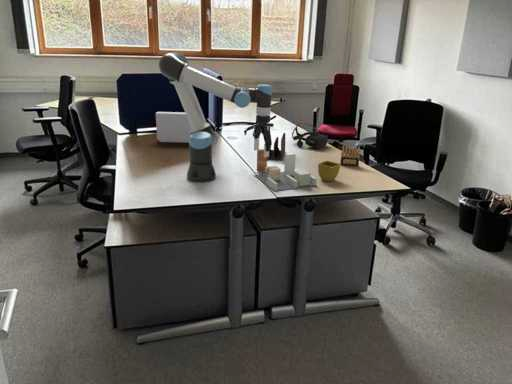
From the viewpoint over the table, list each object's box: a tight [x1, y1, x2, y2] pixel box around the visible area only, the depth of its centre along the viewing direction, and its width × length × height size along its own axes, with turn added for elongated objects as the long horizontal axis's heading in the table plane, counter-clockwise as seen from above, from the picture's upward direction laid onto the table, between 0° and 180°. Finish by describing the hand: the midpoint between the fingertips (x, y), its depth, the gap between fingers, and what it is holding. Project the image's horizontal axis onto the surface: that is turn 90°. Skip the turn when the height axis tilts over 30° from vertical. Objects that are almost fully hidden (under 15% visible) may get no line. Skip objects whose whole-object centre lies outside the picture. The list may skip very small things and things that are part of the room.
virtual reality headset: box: [291, 122, 329, 150], centre depth 290 cm, size 19×24×15 cm
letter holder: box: [267, 132, 286, 162], centre depth 264 cm, size 10×20×14 cm, turn 171°
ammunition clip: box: [339, 145, 361, 168], centre depth 248 cm, size 11×2×12 cm, turn 78°
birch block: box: [256, 148, 281, 181], centre depth 226 cm, size 18×6×12 cm, turn 23°
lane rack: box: [254, 171, 318, 192], centre depth 222 cm, size 25×24×4 cm
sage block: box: [283, 152, 312, 186], centre depth 220 cm, size 18×6×12 cm, turn 23°
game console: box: [155, 111, 191, 144], centre depth 291 cm, size 6×27×20 cm, turn 89°
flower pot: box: [317, 160, 342, 182], centre depth 224 cm, size 9×9×9 cm
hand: (261, 153), depth 232 cm, fingers open, 13 cm apart
